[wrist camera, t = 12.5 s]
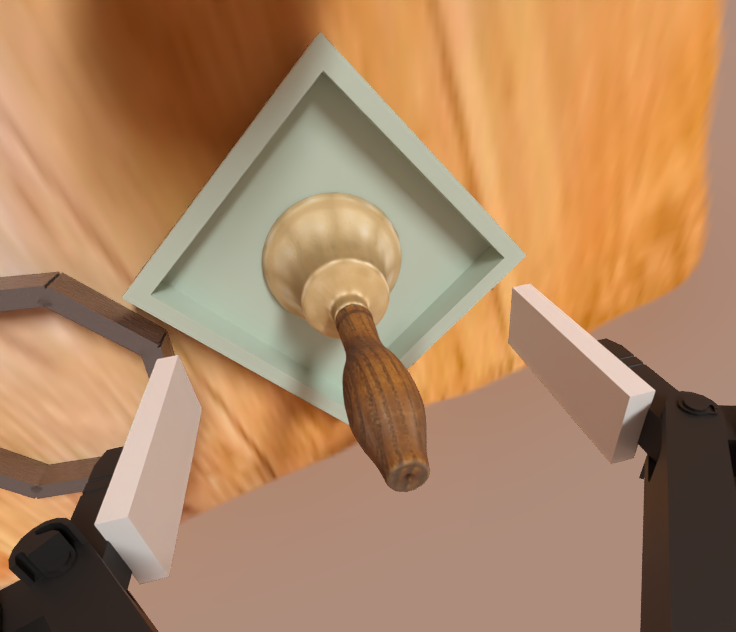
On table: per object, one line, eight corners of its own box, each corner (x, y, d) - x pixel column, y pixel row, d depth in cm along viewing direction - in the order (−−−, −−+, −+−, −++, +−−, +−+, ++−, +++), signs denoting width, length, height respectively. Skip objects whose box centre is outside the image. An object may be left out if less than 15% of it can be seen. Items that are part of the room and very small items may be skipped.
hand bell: (365, 164, 23) (492, 296, 9) (421, 284, 27) (564, 494, 14) (232, 236, 24) (172, 460, 10) (307, 343, 28) (337, 601, 14)
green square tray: (137, 274, 25) (121, 298, 22) (314, 36, 21) (320, 31, 18) (343, 396, 32) (348, 425, 29) (503, 238, 28) (526, 255, 25)
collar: (-144, 413, 26) (-171, 435, 24) (-32, 220, 22) (-56, 232, 20) (110, 498, 33) (102, 519, 31) (229, 364, 29) (226, 381, 27)
